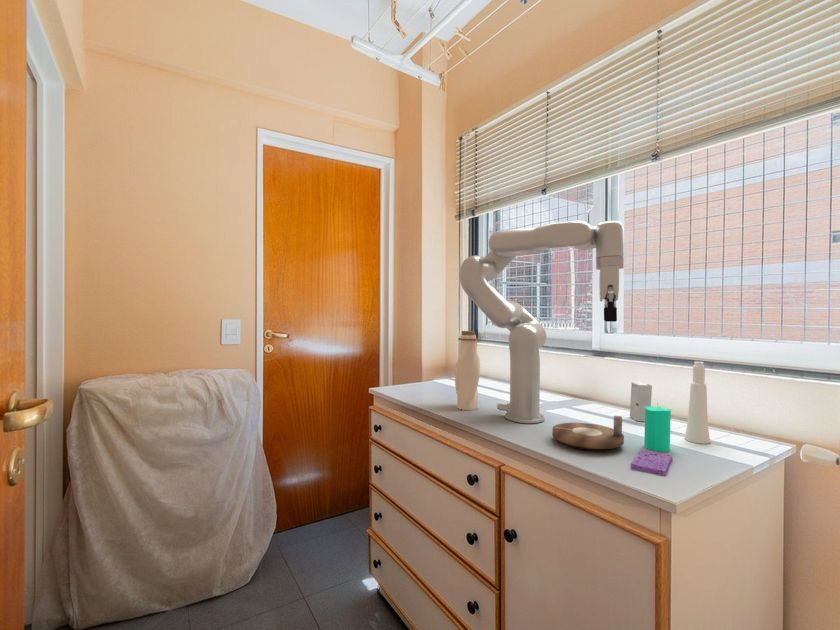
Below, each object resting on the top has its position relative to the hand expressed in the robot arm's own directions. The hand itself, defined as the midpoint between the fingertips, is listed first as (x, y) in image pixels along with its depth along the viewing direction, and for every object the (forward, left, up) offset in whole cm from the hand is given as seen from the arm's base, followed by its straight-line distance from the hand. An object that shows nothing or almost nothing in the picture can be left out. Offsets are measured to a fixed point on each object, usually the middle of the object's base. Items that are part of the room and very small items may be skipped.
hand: (610, 321), depth 125 cm
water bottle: (-47, +9, -33) cm, 59 cm away
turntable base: (-5, -16, -33) cm, 37 cm away
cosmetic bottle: (+23, 0, -33) cm, 40 cm away
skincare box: (+10, +18, -33) cm, 39 cm away
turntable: (-5, -16, -31) cm, 35 cm away
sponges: (+9, -25, -34) cm, 43 cm away
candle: (+12, -12, -33) cm, 37 cm away
